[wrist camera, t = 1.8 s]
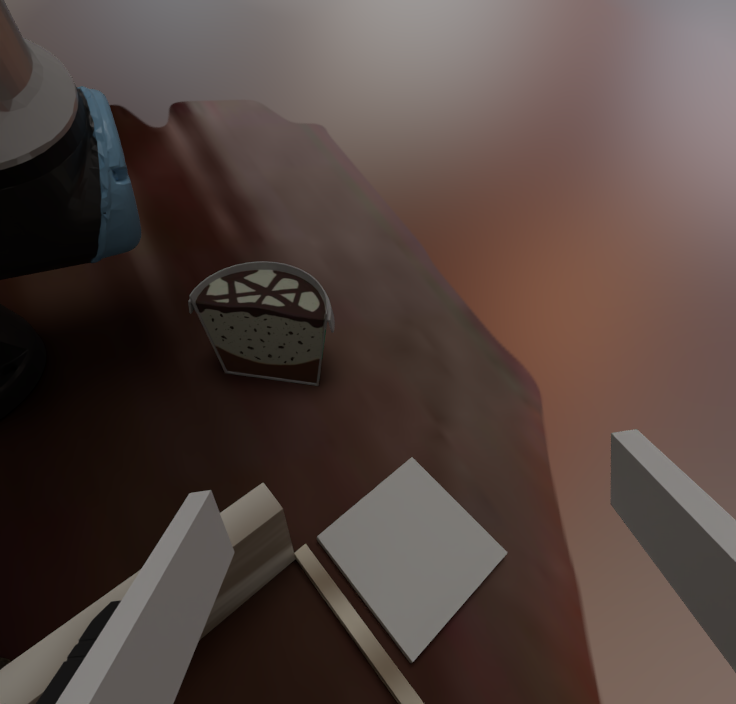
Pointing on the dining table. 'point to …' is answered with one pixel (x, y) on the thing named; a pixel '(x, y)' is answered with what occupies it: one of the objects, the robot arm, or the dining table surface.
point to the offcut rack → (217, 601)
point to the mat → (411, 555)
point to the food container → (265, 320)
